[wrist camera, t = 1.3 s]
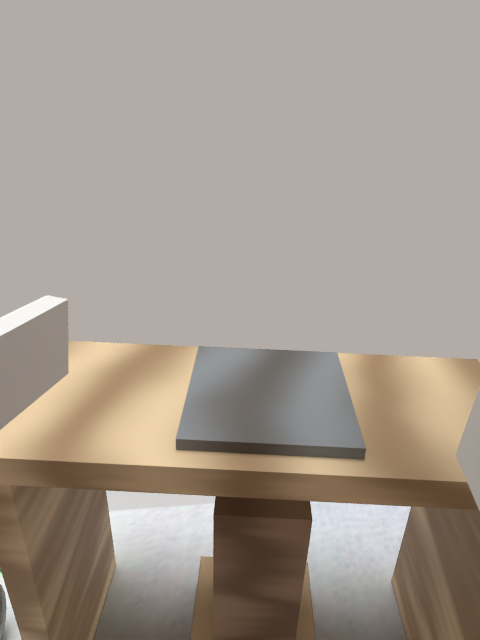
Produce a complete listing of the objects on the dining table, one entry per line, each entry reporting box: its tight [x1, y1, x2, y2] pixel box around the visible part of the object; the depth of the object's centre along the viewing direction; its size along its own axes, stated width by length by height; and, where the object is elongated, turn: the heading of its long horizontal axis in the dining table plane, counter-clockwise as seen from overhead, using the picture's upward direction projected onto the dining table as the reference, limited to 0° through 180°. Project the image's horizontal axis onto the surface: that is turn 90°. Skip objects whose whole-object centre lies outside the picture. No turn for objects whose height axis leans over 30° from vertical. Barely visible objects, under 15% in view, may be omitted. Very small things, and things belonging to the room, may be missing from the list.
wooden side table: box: [0, 341, 480, 640], centre depth 27 cm, size 25×10×21 cm, turn 88°
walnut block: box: [213, 496, 312, 640], centre depth 28 cm, size 5×5×12 cm
